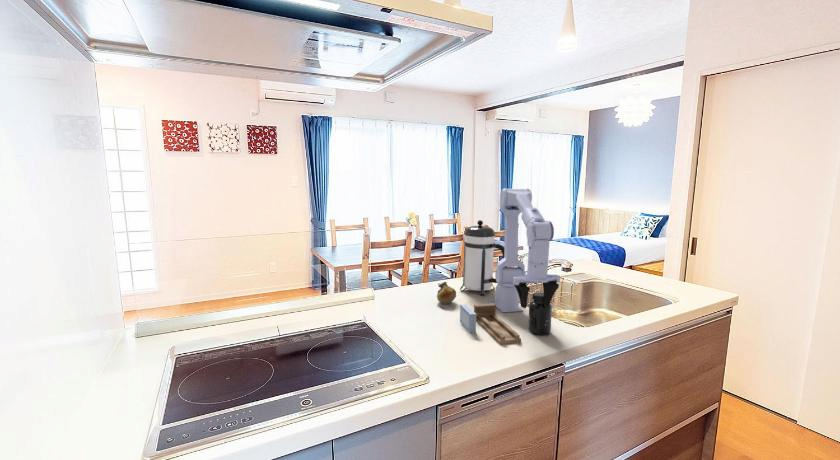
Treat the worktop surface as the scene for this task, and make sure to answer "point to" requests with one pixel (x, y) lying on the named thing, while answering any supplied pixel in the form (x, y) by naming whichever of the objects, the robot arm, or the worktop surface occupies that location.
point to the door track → (495, 324)
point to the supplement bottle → (539, 315)
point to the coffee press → (479, 258)
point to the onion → (445, 293)
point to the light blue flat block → (468, 318)
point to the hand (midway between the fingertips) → (535, 306)
